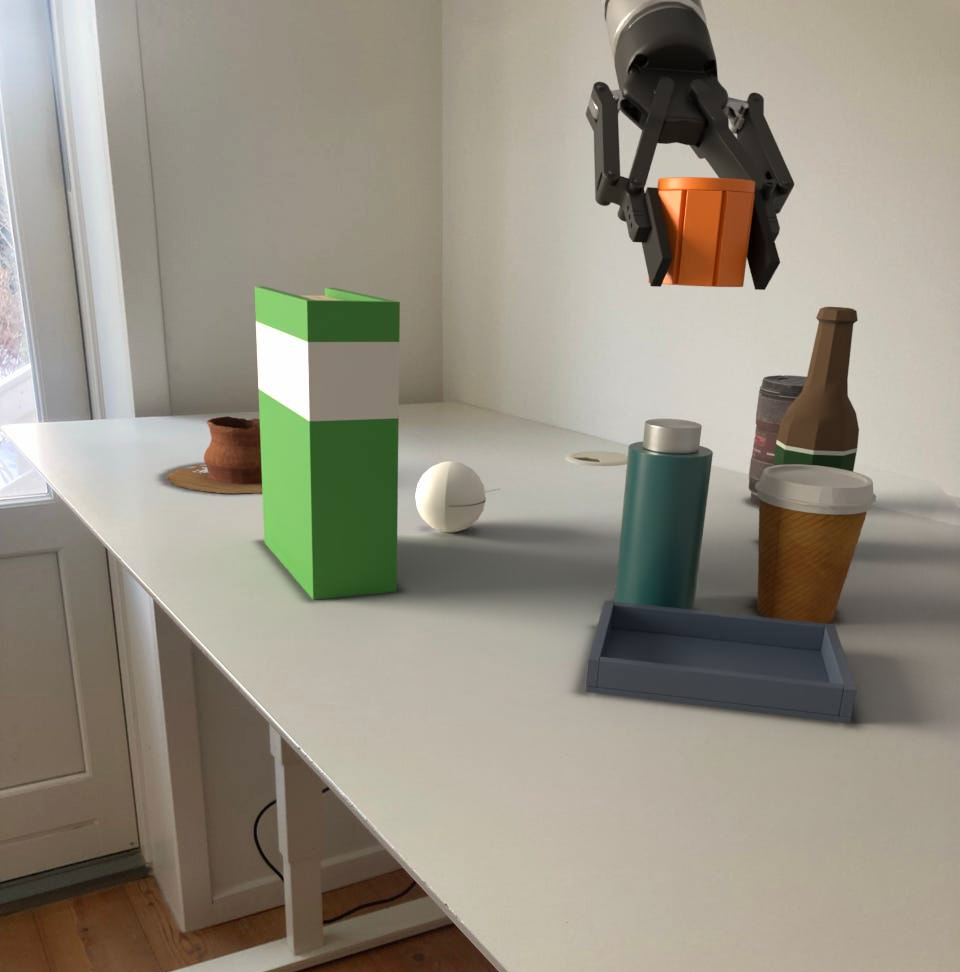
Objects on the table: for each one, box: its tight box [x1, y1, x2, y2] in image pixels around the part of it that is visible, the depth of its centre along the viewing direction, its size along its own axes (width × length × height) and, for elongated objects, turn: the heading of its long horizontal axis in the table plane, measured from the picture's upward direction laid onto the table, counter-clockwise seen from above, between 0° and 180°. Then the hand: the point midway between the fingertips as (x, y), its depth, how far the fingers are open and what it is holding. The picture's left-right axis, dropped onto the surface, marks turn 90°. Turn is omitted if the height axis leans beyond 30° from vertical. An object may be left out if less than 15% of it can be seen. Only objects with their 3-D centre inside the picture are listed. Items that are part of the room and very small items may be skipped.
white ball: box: [415, 460, 500, 534], centre depth 107 cm, size 10×7×7 cm
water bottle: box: [613, 418, 714, 610], centre depth 83 cm, size 7×7×16 cm
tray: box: [584, 600, 858, 724], centre depth 74 cm, size 18×13×3 cm
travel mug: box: [748, 374, 807, 508], centre depth 121 cm, size 8×8×15 cm
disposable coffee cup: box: [755, 464, 877, 624], centre depth 86 cm, size 10×10×12 cm
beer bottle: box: [773, 306, 860, 472], centre depth 102 cm, size 8×8×24 cm
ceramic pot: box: [164, 416, 263, 494], centre depth 125 cm, size 18×18×7 cm
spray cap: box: [647, 176, 755, 288], centre depth 74 cm, size 7×7×7 cm
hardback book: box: [254, 285, 401, 601], centre depth 90 cm, size 18×7×24 cm, turn 24°
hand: (715, 274), depth 72 cm, fingers closed on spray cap, 7 cm apart
